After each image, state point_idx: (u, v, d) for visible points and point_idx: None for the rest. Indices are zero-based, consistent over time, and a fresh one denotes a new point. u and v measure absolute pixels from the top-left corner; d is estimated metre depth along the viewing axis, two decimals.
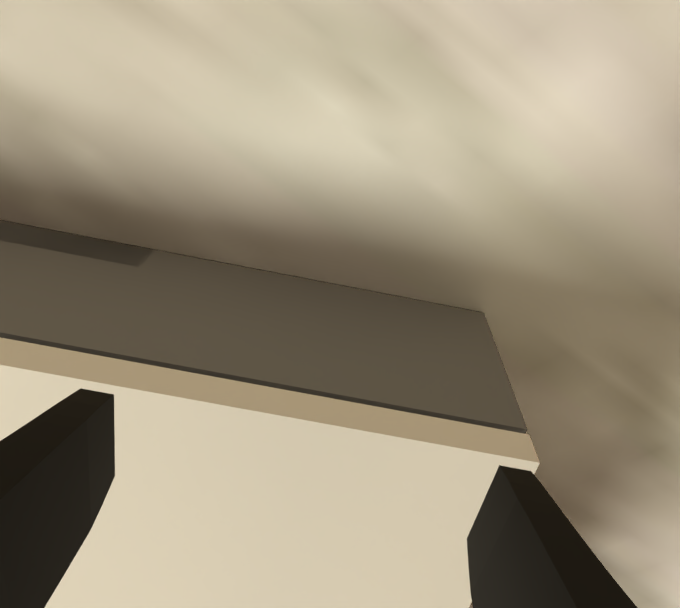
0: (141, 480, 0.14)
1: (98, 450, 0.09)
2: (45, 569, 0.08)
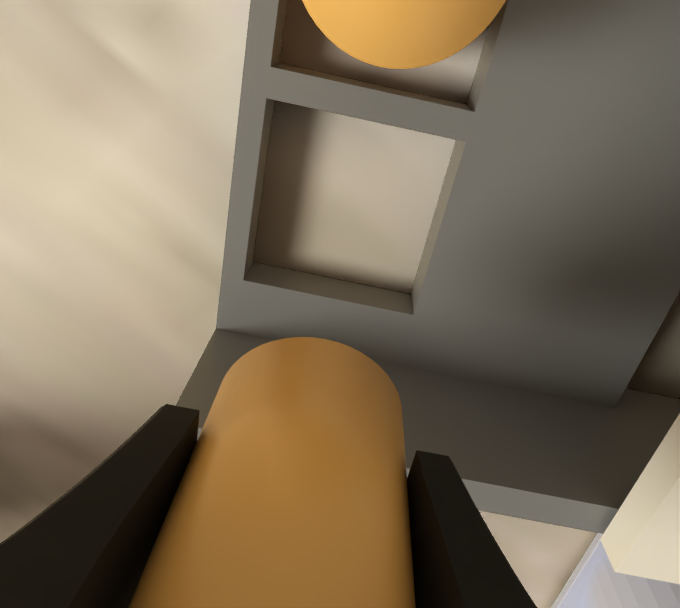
0: None
1: (186, 466, 0.09)
2: None
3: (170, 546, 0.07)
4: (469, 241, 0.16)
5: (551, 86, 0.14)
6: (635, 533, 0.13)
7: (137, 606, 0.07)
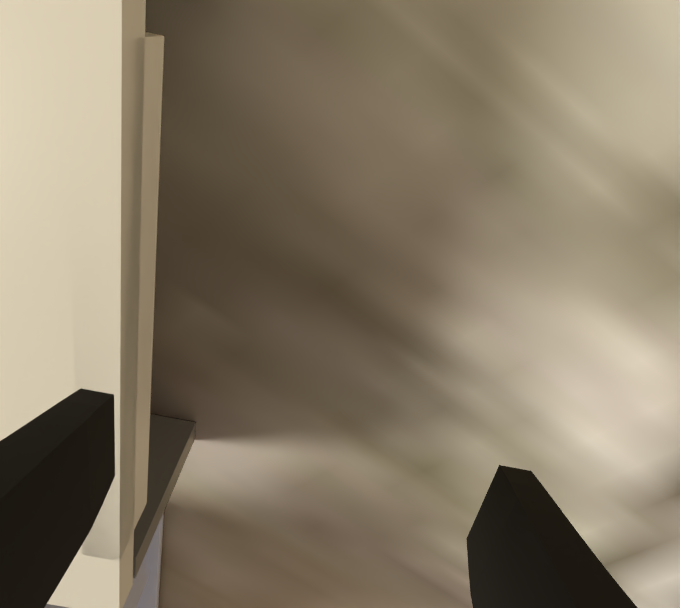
0: None
1: (98, 450, 0.09)
2: (46, 568, 0.08)
3: None
4: None
5: None
6: None
7: None
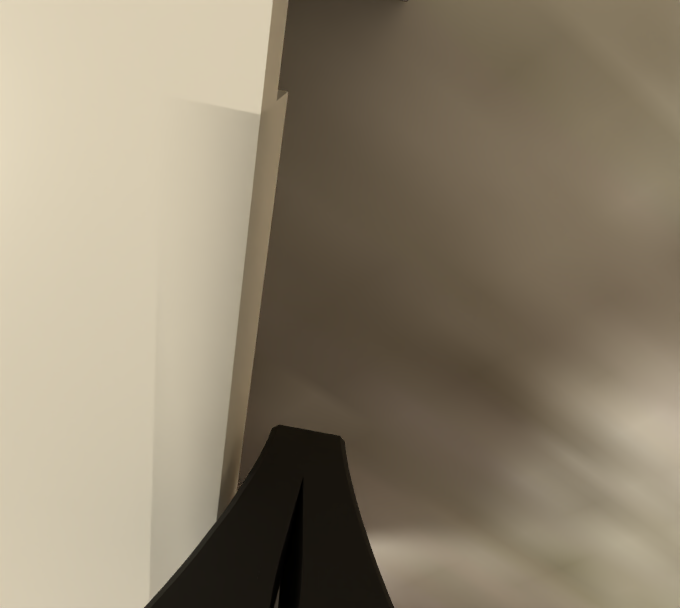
0: None
1: None
2: (272, 607, 0.08)
3: None
4: None
5: None
6: None
7: None
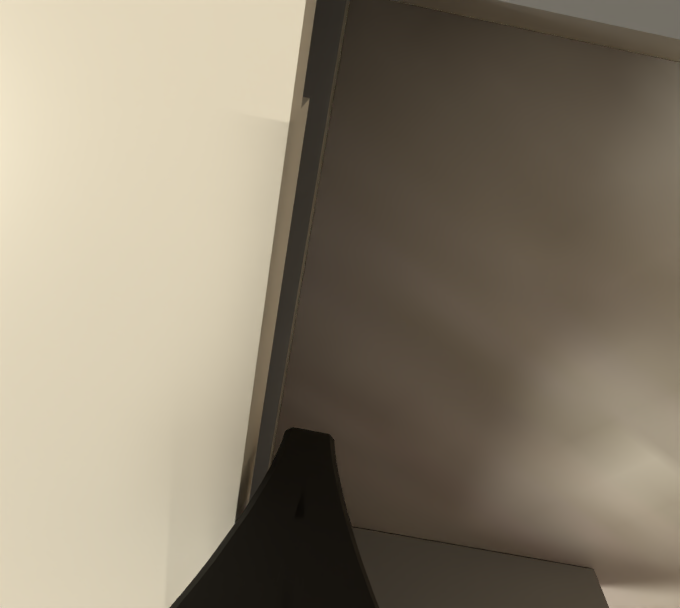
0: None
1: None
2: None
3: None
4: None
5: None
6: None
7: None
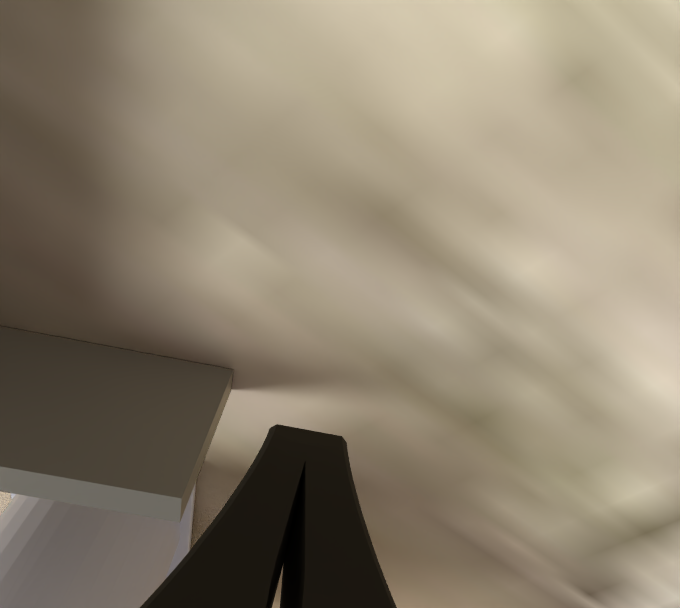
0: None
1: None
2: (270, 607, 0.08)
3: None
4: None
5: None
6: None
7: None
